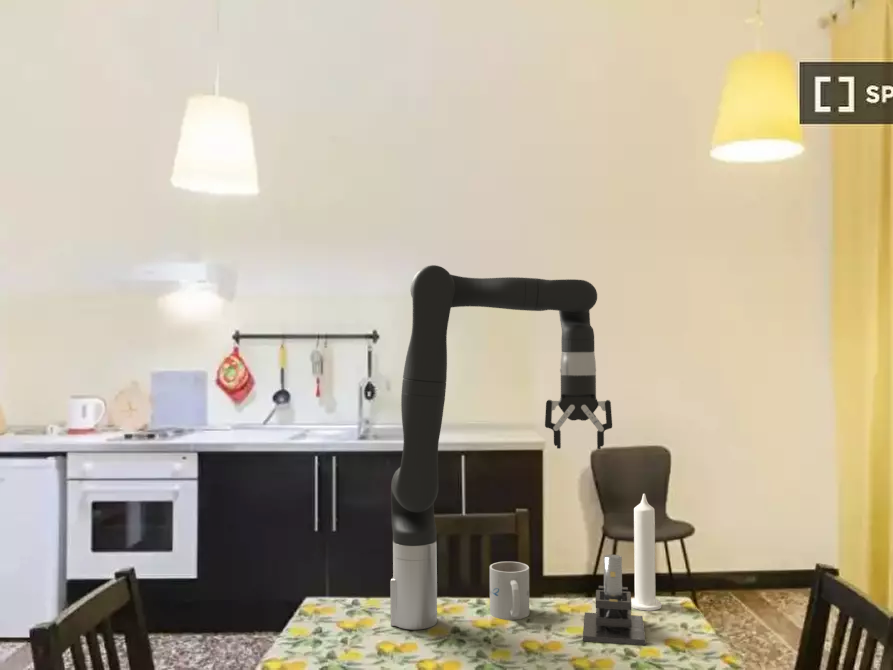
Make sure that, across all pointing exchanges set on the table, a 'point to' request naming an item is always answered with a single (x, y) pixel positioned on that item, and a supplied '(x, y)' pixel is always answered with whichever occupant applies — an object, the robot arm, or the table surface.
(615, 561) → the tube
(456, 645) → the table surface
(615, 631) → the bracket
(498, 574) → the mug
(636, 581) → the candle
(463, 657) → the table surface
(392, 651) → the table surface
